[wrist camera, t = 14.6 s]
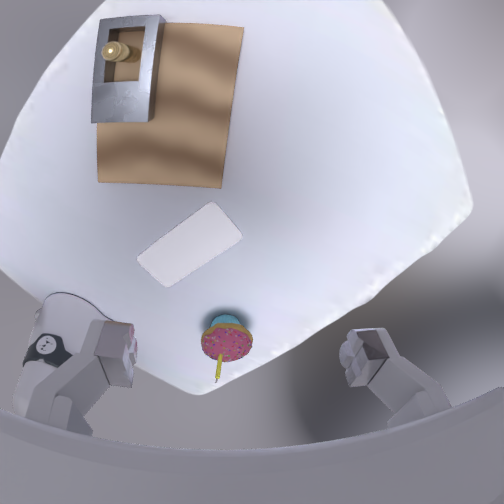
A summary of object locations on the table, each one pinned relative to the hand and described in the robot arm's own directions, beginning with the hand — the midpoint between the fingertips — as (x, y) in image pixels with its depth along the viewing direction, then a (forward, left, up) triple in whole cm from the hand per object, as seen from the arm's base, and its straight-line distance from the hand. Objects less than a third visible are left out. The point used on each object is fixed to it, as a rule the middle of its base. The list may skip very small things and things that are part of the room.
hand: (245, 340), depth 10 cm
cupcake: (-30, -3, -29) cm, 42 cm away
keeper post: (+11, +12, -28) cm, 32 cm away
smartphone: (-15, +4, -30) cm, 34 cm away
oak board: (+5, +8, -29) cm, 31 cm away
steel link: (+9, +12, -28) cm, 31 cm away
